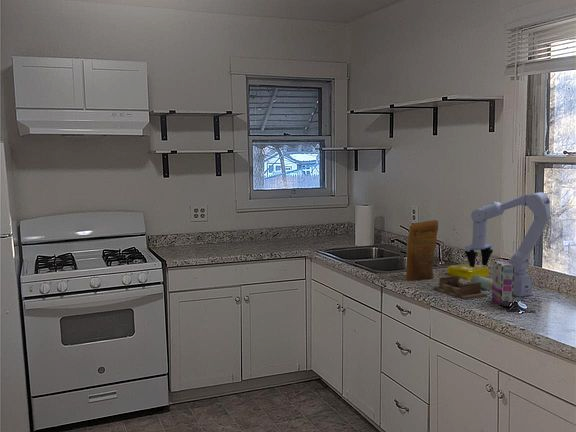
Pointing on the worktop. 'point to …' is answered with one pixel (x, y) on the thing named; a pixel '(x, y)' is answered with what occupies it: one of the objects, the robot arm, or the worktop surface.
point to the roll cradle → (460, 288)
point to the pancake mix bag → (421, 250)
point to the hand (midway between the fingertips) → (478, 265)
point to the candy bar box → (502, 282)
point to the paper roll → (483, 282)
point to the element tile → (467, 271)
